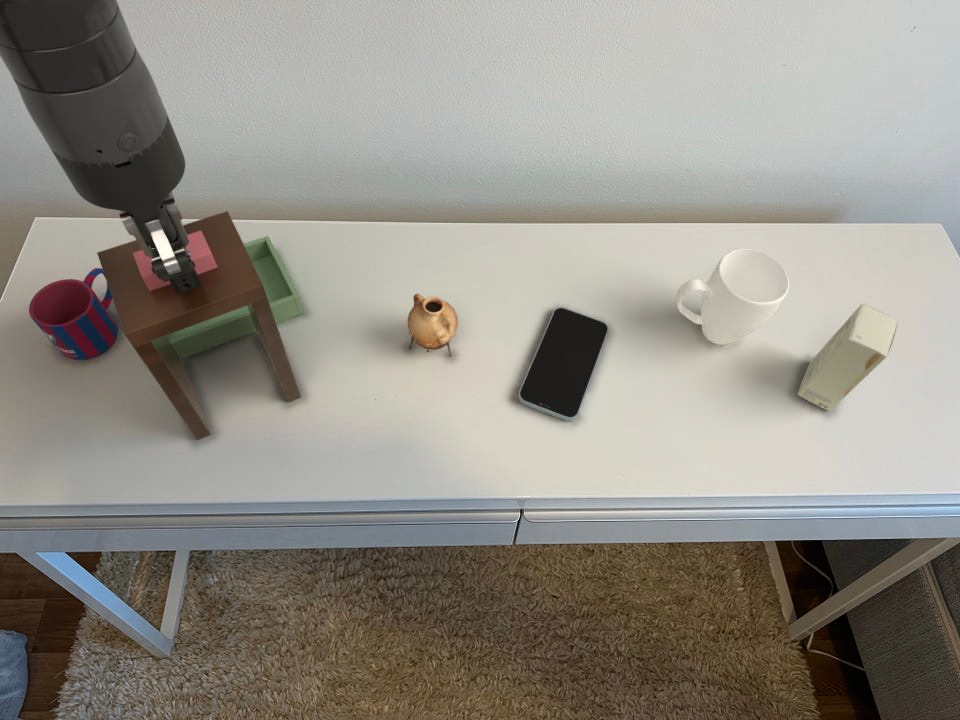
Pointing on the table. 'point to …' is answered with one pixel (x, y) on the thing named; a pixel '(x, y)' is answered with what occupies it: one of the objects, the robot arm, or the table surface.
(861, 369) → the cosmetic box
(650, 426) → the table surface
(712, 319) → the mug
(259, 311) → the walnut stand
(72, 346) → the cup
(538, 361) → the smartphone
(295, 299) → the tray
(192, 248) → the eraser
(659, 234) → the table surface
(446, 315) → the pot
